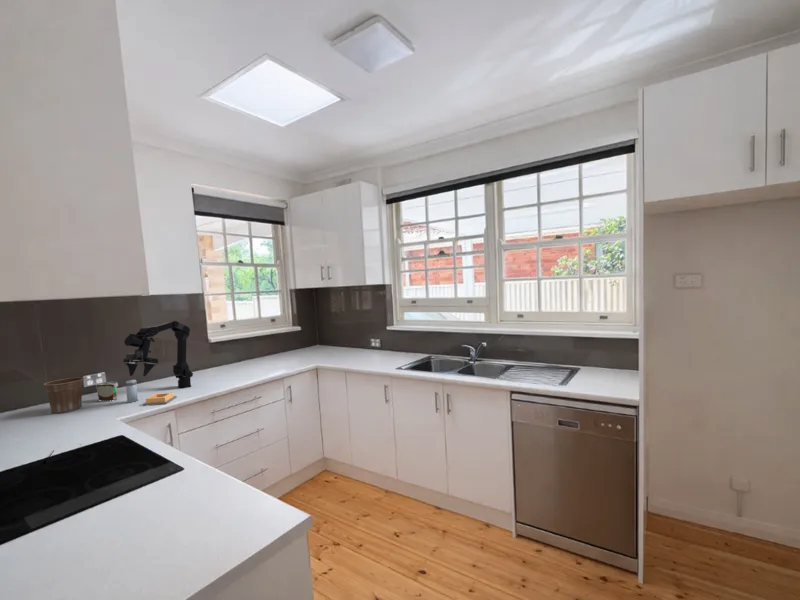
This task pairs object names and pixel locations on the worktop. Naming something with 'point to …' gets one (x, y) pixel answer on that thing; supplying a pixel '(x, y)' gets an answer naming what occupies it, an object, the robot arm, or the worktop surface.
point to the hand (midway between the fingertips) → (137, 376)
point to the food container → (107, 391)
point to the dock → (160, 399)
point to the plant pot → (65, 394)
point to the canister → (131, 391)
